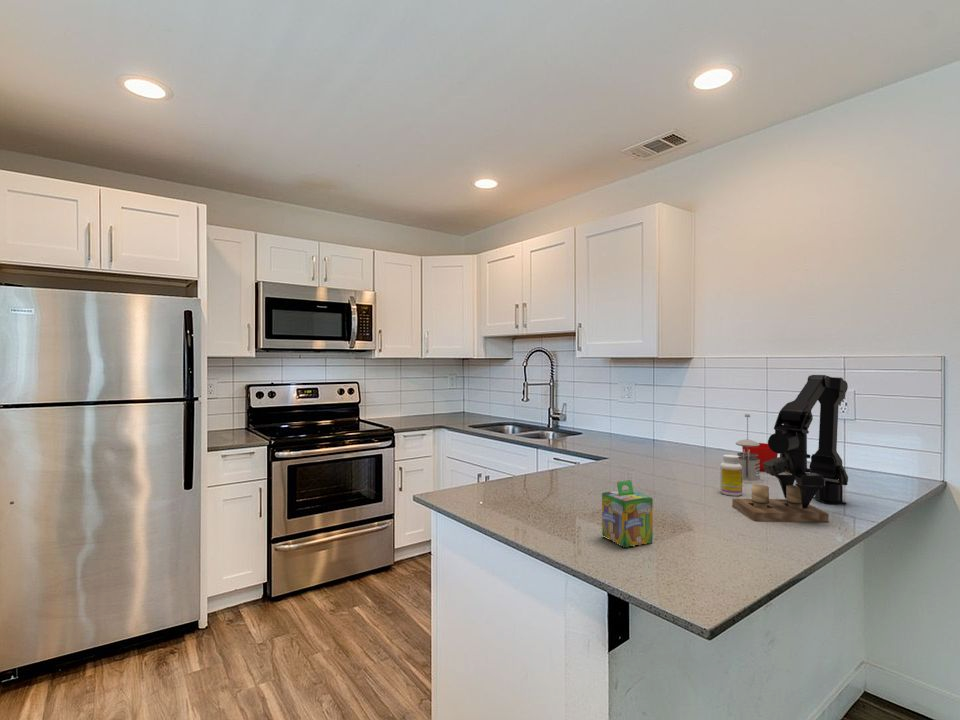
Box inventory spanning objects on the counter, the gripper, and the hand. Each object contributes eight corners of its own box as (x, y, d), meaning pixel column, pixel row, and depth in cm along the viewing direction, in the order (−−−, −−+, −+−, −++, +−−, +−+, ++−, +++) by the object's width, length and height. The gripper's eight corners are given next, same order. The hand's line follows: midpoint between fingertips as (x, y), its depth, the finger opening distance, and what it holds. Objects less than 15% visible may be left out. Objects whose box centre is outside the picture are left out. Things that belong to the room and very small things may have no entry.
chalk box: (624, 549, 120) (624, 487, 120) (600, 537, 128) (600, 479, 128) (654, 543, 123) (654, 483, 123) (629, 532, 132) (629, 476, 132)
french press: (763, 479, 189) (763, 413, 189) (761, 485, 179) (761, 416, 179) (734, 476, 194) (734, 411, 194) (731, 482, 184) (730, 414, 184)
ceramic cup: (795, 472, 199) (795, 447, 199) (752, 472, 199) (752, 447, 199) (776, 466, 212) (776, 442, 212) (736, 466, 212) (736, 442, 212)
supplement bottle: (745, 496, 165) (744, 458, 165) (723, 495, 166) (723, 457, 166) (738, 491, 171) (738, 454, 171) (718, 490, 173) (717, 453, 173)
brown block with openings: (799, 507, 153) (799, 481, 153) (828, 522, 139) (828, 493, 139) (732, 506, 154) (732, 480, 154) (754, 521, 140) (754, 492, 140)
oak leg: (798, 511, 148) (798, 485, 148) (807, 516, 144) (807, 489, 144) (783, 511, 149) (783, 484, 149) (791, 516, 144) (791, 488, 144)
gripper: (751, 444, 156) (751, 494, 156) (784, 455, 137) (784, 512, 137) (788, 444, 155) (788, 494, 155) (826, 456, 137) (826, 512, 137)
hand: (795, 502), depth 146 cm, fingers open, 9 cm apart
